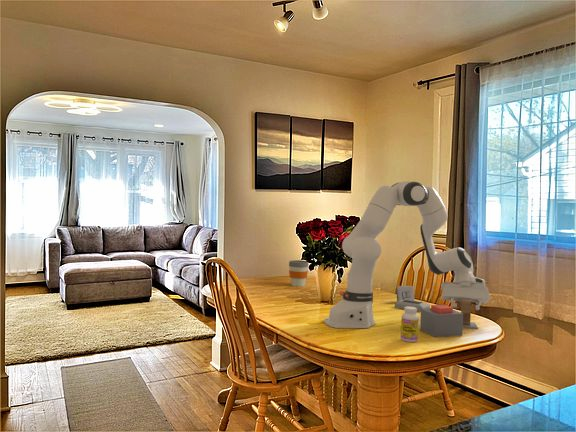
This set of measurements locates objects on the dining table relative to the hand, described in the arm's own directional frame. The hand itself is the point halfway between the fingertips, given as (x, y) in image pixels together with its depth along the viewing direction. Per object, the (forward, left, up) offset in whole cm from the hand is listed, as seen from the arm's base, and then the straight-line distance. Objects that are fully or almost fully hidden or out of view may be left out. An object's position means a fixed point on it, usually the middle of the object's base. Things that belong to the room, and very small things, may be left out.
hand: (466, 308), depth 210 cm
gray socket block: (-18, -8, -8) cm, 21 cm away
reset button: (-18, -8, -2) cm, 20 cm away
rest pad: (0, 0, -8) cm, 8 cm away
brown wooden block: (0, 0, -7) cm, 7 cm away
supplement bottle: (-37, -15, -8) cm, 41 cm away
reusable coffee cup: (-45, +107, -8) cm, 116 cm away
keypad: (-6, +35, -8) cm, 36 cm away
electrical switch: (-3, +48, -8) cm, 49 cm away
